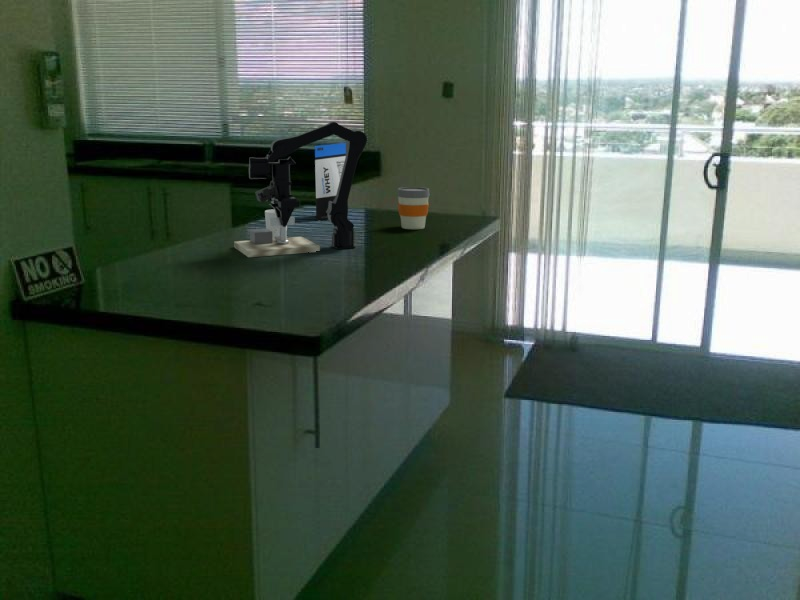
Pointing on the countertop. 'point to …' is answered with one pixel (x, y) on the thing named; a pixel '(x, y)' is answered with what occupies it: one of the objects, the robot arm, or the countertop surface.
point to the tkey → (281, 229)
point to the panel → (276, 247)
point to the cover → (261, 236)
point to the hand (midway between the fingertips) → (282, 225)
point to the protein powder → (327, 175)
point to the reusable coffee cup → (413, 206)
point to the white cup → (274, 229)
